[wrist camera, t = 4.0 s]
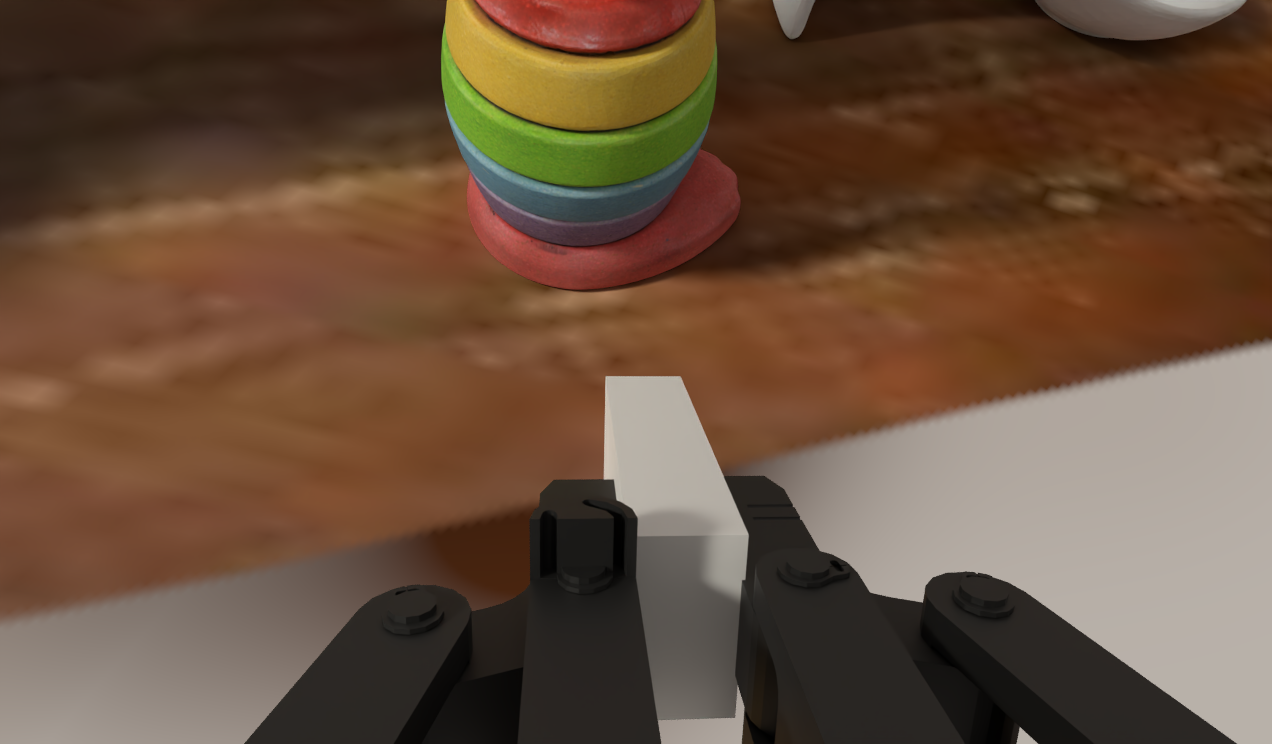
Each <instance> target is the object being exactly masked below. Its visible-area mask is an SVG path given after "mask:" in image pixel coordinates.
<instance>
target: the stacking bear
mask: <svg viewBox="0 0 1272 744" xmlns="http://www.w3.org/2000/svg"><path fill="white" fill-rule="evenodd" d="M715 39H716V21H715V6H714V0H447V6H446V17H445V25H444V30H443V37H442V53H441V75H442V88H443V93H444V98H445V106H446V111H447V115H448V118H449V122H450V125H451V128H452V131H453V134H454V136H455V139H456V142H457V144H458V147H459V149H460V152H461V154H462V156H463V158H464V160H465V162H466V164H467V166H468V168H469V170H470V175H469V181H468V187H467V205H468V212H469V216H470V220H471V223H472V226H473V228H474V230H475V232H476V234H477V236H478V238H479V239H480V241H481V242H482V244H483V245H484V247H485V248H486V249H487V250H488V251H489V252H490V253H491V254H492V256H493V257H495V258H496V259H497V260H498V261H499V262H500V263H502V264H503V265H505V266H506V267H508V268H509V269H511V270H512V271H514V272H515V273H517V274H519V275H521V276H523V277H525V278H527V279H529V280H532V281H535V282H537V283H540V284H544V285H548V286H552V287H557V288H564V289H597V288H604V287H611V286H617V285H623V284H627V283H631V282H635V281H639V280H642V279H646V278H649V277H652V276H655V275H657V274H660V273H662V272H665V271H668V270H670V269H672V268H674V267H676V266H678V265H680V264H682V263H684V262H686V261H688V260H690V259H691V258H693V257H695V256H696V255H698V254H699V253H701V252H702V251H704V250H705V249H706V248H708V247H709V246H710V245H712V244H713V243H714V242H715V241H716V240H718V239H719V238H720V237H721V236H722V235H723V234H724V233H725V232H726V231H727V230H728V229H729V228H730V226H731V225H732V224H733V223H734V221H735V220H736V219H737V216H738V214H739V210H740V205H741V199H740V195H739V193H738V180H737V176H736V174H735V173H734V172H733V171H732V170H731V169H730V168H729V167H727V166H726V165H724V164H723V163H722V162H721V161H720V160H719V159H718V158H717V157H716V156H715V155H713V154H711V153H709V152H706V151H704V150H702V149H700V147H701V144H702V142H703V139H704V137H705V134H706V132H707V129H708V125H709V121H710V116H711V113H712V110H713V105H714V100H715V92H716V83H717V45H716V40H715Z"/></svg>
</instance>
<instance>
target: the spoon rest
mask: <svg viewBox="0 0 1272 744" xmlns="http://www.w3.org/2000/svg"><path fill="white" fill-rule="evenodd" d="M1035 1H1036V3H1037V4H1038V5H1039V6H1040V8H1041V9H1042V10H1043V11H1044V12H1045V13H1046V14H1047V15H1048V16H1050V17H1051V18H1052V19H1054V20H1055V21H1057V22H1058V23H1060V24H1062V25H1063V26H1065V27H1067V28H1070V29H1072V30H1074V31H1077V32H1080V33H1083V34H1086V35H1090V36H1095V37H1101V38H1116V39H1124V40H1154V39H1162V38H1169V37H1174V36H1178V35H1182V34H1186V33H1189V32H1192V31H1196V30H1198V29H1201V28H1203V27H1206V26H1209V25H1211V24H1213V23H1215V22H1217V21H1219V20H1221V19H1223V18H1225V17H1227V16H1228V15H1230V14H1232V13H1233V12H1235V11H1236V10H1238V9H1239V8H1240V7H1241V6H1242V5H1243V4H1244V3H1245V2H1246V1H1247V0H1035ZM814 2H815V0H773V3H774V7H775V10H776V13H777V16H778V19H779V22H780V24H781V27H782V29H783V31H784V33H785V34H786V36H787V37H788V38H790V39H795V38H797V37H799V36H800V34H801V33H802V31H803V29H804V27H805V25H806V22H807V20H808V17H809V14H810V12H811V9H812V6H813V4H814Z"/></svg>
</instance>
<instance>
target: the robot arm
mask: <svg viewBox="0 0 1272 744" xmlns="http://www.w3.org/2000/svg"><path fill="white" fill-rule="evenodd" d="M737 685H738V687H739V690H740V693H741V697H742V700H743V703H744V707H745V710H744V724H743V735H742V744H1016V743H1017V738H1018V733H1019V728H1020V727H1021V728H1022V729H1023V730H1024V731H1025V732H1026V733H1027V734H1028V735H1029V736H1031V737H1032V738H1033V739H1034V740H1035V741H1036V742H1037V743H1038V744H1236V743H1235V742H1234V741H1232V740H1231V739H1229V738H1228V737H1227V736H1225V735H1224V734H1223V733H1221V732H1220V731H1218V730H1217V729H1216V728H1214V727H1213V726H1211V725H1210V724H1209V723H1207V722H1206V721H1204V720H1203V719H1202V718H1200V717H1199V716H1198V715H1196V714H1195V713H1193V712H1192V711H1191V710H1189V709H1188V708H1186V707H1185V706H1184V705H1182V704H1181V703H1179V702H1178V701H1177V700H1175V699H1174V698H1172V697H1171V696H1170V695H1168V694H1167V693H1165V692H1164V691H1162V690H1161V689H1160V688H1158V687H1157V686H1156V685H1154V684H1153V683H1151V682H1150V681H1149V680H1147V679H1146V678H1145V677H1143V676H1142V675H1140V674H1139V673H1138V672H1136V671H1135V670H1133V669H1132V668H1131V667H1129V666H1128V665H1126V664H1125V663H1124V662H1122V661H1121V660H1119V659H1118V658H1117V657H1115V656H1114V655H1112V654H1111V653H1110V652H1108V651H1107V650H1105V649H1104V648H1103V647H1101V646H1100V645H1098V644H1097V643H1096V642H1094V641H1093V640H1091V639H1090V638H1089V637H1087V636H1086V635H1084V634H1083V633H1082V632H1080V631H1079V630H1077V629H1076V628H1075V627H1073V626H1072V625H1071V624H1069V623H1068V622H1066V621H1065V620H1064V619H1062V618H1061V617H1059V616H1058V615H1056V614H1055V613H1054V612H1052V611H1051V610H1050V609H1048V608H1047V607H1045V606H1044V605H1042V604H1041V603H1040V602H1038V601H1037V600H1036V599H1034V598H1033V597H1031V596H1030V595H1028V594H1027V593H1026V592H1024V591H1022V590H1021V589H1019V588H1017V587H1015V586H1013V585H1012V584H1010V583H1008V582H1005V581H1002V580H999V579H996V578H993V577H992V576H990V575H987V574H982V573H978V574H976V573H975V572H957V573H945V574H942V575H939V576H936V577H933V578H932V579H931V580H930V581H929V583H928V584H927V585H926V587H925V594H924V600H923V603H922V602H916V601H910V600H904V599H897V598H891V597H886V596H882V595H877V594H873V593H870V592H869V590H868V589H867V587H866V586H865V584H864V582H863V581H862V579H861V578H860V576H859V574H858V573H857V572H856V571H855V570H854V569H853V568H852V567H851V566H850V565H849V564H848V563H847V562H845V561H843V560H841V559H840V558H838V557H836V556H834V555H832V554H828V553H824V552H821V551H819V549H818V547H817V546H816V544H815V542H814V541H813V539H812V537H811V535H810V534H809V532H808V530H807V528H806V527H805V525H804V523H803V522H802V520H800V516H799V514H798V513H797V511H796V509H795V508H794V507H793V504H792V503H791V501H790V499H789V497H788V495H787V494H786V492H785V490H784V489H783V488H781V487H780V486H778V485H777V484H775V483H774V482H772V481H771V480H769V479H768V478H766V477H765V476H723V474H722V472H721V470H720V467H719V465H718V463H717V460H716V458H715V456H714V453H713V451H712V449H711V446H710V444H709V442H708V439H707V437H706V435H705V432H704V430H703V428H702V425H701V423H700V421H699V418H698V416H697V414H696V412H695V409H694V407H693V405H692V402H691V400H690V398H689V395H688V393H687V391H686V388H685V386H684V384H683V381H682V379H681V377H680V376H606V385H605V444H604V479H598V480H553V481H552V482H551V483H550V484H549V485H548V486H547V487H546V488H545V489H544V490H543V491H542V492H541V493H540V504H539V507H538V508H537V509H535V510H534V512H533V514H532V516H531V518H530V585H529V586H528V587H527V589H526V590H525V591H523V592H522V593H521V594H519V595H518V596H517V597H515V598H513V599H511V600H509V601H507V602H505V603H502V604H500V605H496V606H493V607H489V608H485V609H481V610H476V611H472V612H471V608H470V606H469V603H468V601H467V599H466V598H465V597H463V596H462V595H461V594H459V593H457V592H456V591H454V590H452V589H448V588H444V587H440V586H436V585H410V586H407V587H400V588H396V589H393V590H390V591H388V592H386V593H383V594H381V595H379V596H376V597H374V598H372V599H371V600H370V601H369V602H367V603H366V604H365V605H364V606H362V607H361V608H360V609H359V610H358V611H357V612H356V613H355V614H354V616H353V617H352V618H351V619H350V621H349V622H348V623H347V624H346V625H345V626H344V627H343V629H342V630H341V631H340V632H339V633H338V634H337V636H336V637H335V638H334V639H333V640H332V641H331V643H330V644H329V645H328V646H327V647H326V648H325V650H324V651H323V652H322V653H321V654H320V656H319V657H318V658H317V659H316V660H315V661H314V663H313V664H312V665H311V666H310V667H309V668H308V670H307V671H306V672H305V673H304V674H303V675H302V677H301V678H300V679H299V680H298V681H297V682H296V684H295V685H294V686H293V688H291V689H290V691H289V692H288V693H287V694H286V695H285V697H284V698H283V699H282V700H281V701H280V702H279V704H278V705H277V706H276V707H275V708H274V709H273V711H272V712H271V713H270V714H269V715H268V716H267V718H266V719H265V720H264V721H263V722H262V723H261V725H260V726H259V727H258V728H257V729H256V730H255V732H254V733H253V734H252V735H251V736H250V738H249V739H248V740H247V741H246V742H245V743H244V744H661V739H660V732H659V726H658V720H675V719H704V718H735V710H736V697H737Z"/></svg>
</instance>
